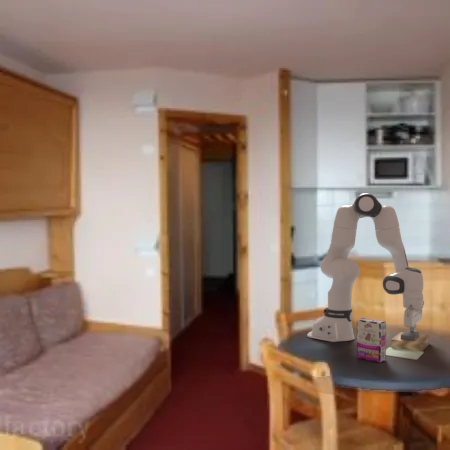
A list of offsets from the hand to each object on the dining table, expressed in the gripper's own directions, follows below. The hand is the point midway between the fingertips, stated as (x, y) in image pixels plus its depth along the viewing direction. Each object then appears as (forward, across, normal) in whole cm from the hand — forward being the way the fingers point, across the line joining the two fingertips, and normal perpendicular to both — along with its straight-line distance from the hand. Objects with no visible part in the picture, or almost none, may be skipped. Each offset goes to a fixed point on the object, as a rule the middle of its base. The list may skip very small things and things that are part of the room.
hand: (412, 333), depth 254 cm
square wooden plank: (+5, -4, 0) cm, 7 cm away
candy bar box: (+5, -34, +9) cm, 36 cm away
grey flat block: (+1, -6, 0) cm, 6 cm away
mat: (+5, -19, 0) cm, 20 cm away
